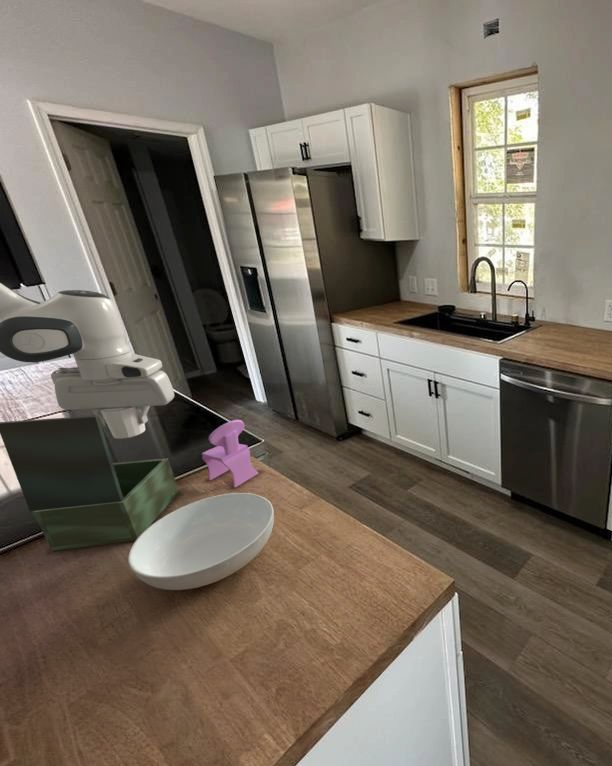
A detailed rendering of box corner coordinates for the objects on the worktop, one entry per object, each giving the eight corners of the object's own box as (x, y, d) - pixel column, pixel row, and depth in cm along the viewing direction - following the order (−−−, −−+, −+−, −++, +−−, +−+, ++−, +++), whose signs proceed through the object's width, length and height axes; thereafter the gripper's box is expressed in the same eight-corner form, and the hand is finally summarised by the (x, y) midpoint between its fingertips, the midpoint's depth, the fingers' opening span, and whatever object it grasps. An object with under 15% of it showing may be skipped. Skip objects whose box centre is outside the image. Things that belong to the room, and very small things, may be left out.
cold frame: (107, 499, 90) (93, 464, 87) (179, 491, 93) (168, 458, 90) (51, 551, 76) (32, 512, 73) (138, 540, 79) (123, 502, 76)
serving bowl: (140, 552, 76) (128, 522, 73) (267, 506, 89) (260, 480, 86) (140, 633, 61) (125, 599, 59) (292, 565, 74) (285, 535, 71)
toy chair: (235, 464, 104) (222, 410, 98) (262, 471, 101) (249, 416, 96) (203, 482, 96) (186, 425, 91) (230, 490, 94) (215, 432, 88)
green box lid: (0, 421, 68) (-4, 423, 67) (98, 415, 71) (95, 417, 70) (33, 508, 73) (29, 511, 72) (123, 499, 76) (121, 501, 75)
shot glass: (148, 423, 99) (140, 396, 97) (149, 434, 94) (140, 406, 92) (110, 431, 95) (100, 403, 92) (108, 442, 90) (98, 414, 87)
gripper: (36, 373, 83) (60, 433, 88) (154, 369, 88) (170, 426, 93) (60, 363, 89) (81, 420, 94) (169, 360, 94) (184, 414, 99)
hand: (126, 423), depth 94 cm, fingers closed on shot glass, 5 cm apart
